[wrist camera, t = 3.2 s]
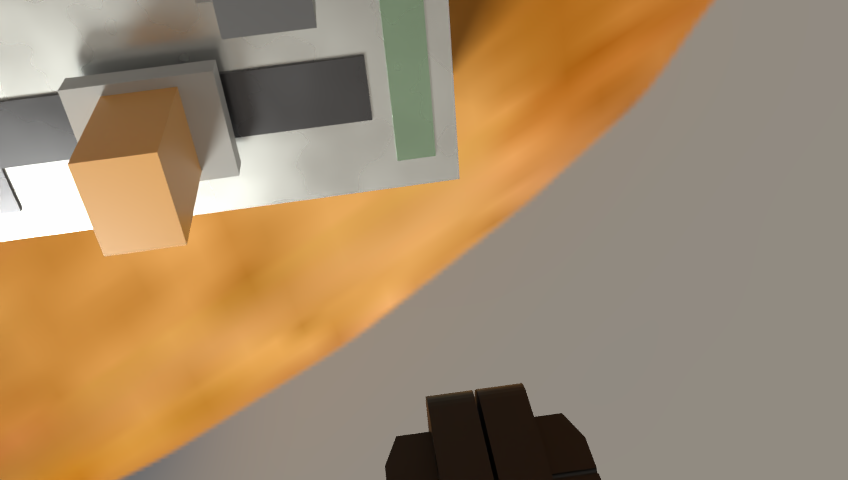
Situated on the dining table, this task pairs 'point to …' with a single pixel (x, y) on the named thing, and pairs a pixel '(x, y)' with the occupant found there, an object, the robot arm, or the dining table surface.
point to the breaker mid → (262, 16)
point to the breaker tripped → (147, 150)
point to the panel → (235, 99)
